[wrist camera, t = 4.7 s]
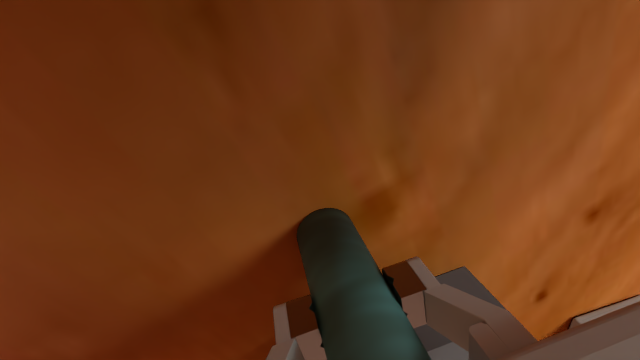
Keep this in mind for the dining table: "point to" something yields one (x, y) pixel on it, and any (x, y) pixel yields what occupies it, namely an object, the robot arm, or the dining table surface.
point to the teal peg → (352, 294)
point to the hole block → (440, 349)
